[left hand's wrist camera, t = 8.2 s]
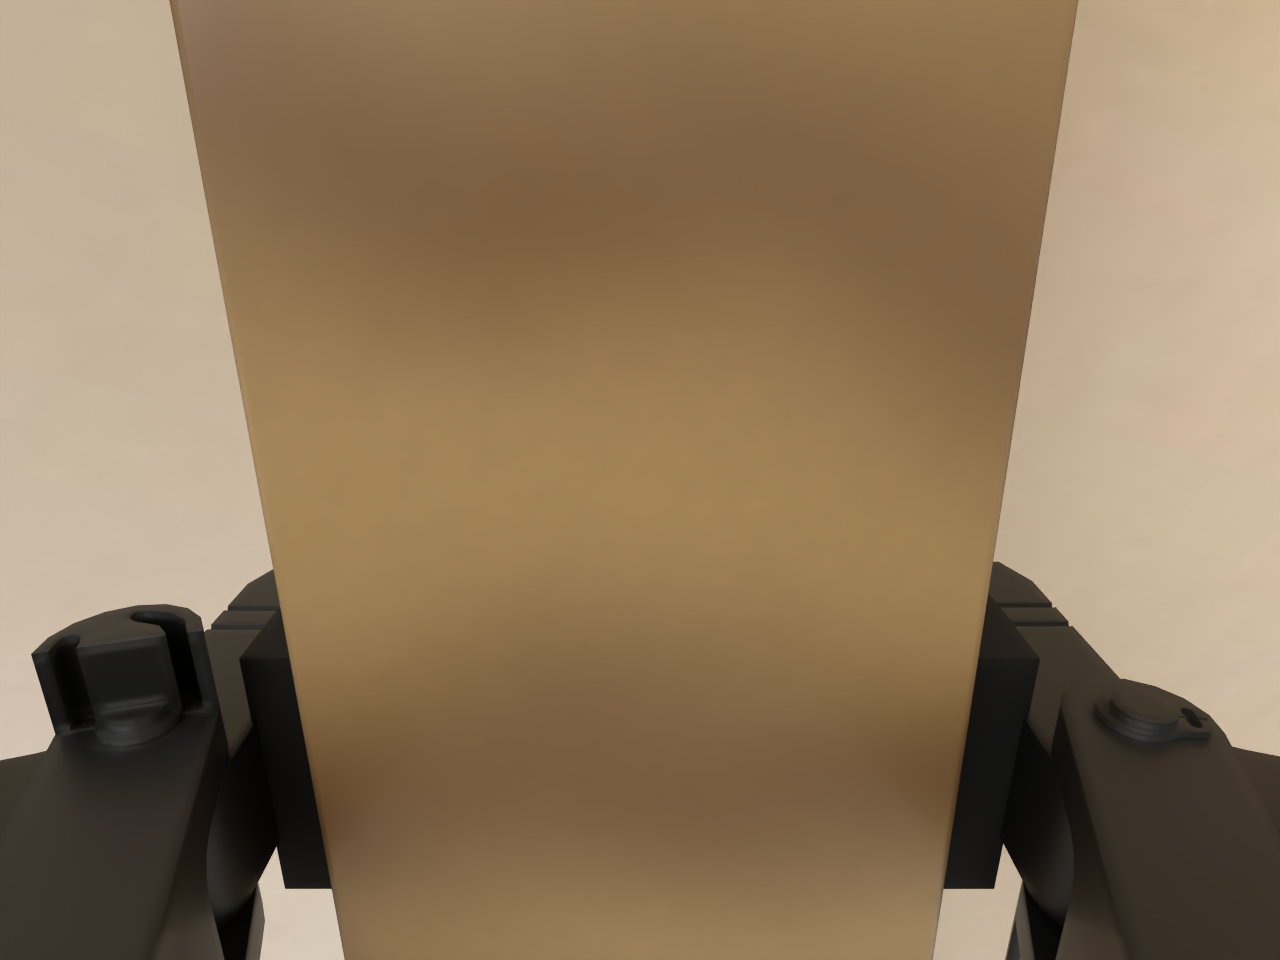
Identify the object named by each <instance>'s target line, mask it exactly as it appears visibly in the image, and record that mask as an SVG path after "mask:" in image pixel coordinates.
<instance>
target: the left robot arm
mask: <svg viewBox="0 0 1280 960" xmlns="http://www.w3.org/2000/svg"><path fill="white" fill-rule="evenodd" d="M31 655H32V659H33V662H34V665H35V668H36V672H37V675H38V678H39V682H40V685H41V688H42V691H43V695H44V698H45V701H46V705H47V708H48V711H49V714H50V718H51V721H52V724H53V727H54V731H55V734H56V735H55V736H54V738H53V740H52V742H51V744H50V746H49V748H48V749H47V751H44V752H40V753H36V754H31V755H26V756H21V757H16V758H11V759H5V760H0V960H260V953H261V946H262V938H263V931H264V923H265V918H264V910H263V903H262V898H261V894H260V889H259V884H258V881H259V879H260V877H261V875H262V873H263V871H264V870H265V868H266V866H267V864H268V862H269V860H270V858H271V856H272V854H273V852H274V850H275V848H276V846H277V850H278V855H279V860H280V865H281V870H282V875H283V880H284V885H285V889H332V887H331V881H330V876H329V870H328V865H327V859H326V854H325V848H324V843H323V837H322V832H321V826H320V821H319V815H318V810H317V805H316V799H315V794H314V788H313V783H312V777H311V772H310V766H309V761H308V755H307V750H306V744H305V739H304V733H303V728H302V722H301V717H300V711H299V706H298V701H297V695H296V690H295V684H294V679H293V673H292V668H291V662H290V657H289V651H288V646H287V640H286V635H285V629H284V624H283V618H282V613H281V607H280V602H279V597H278V591H277V586H276V580H275V575H274V569H273V570H271V571H269V572H268V573H266V574H264V575H262V576H261V577H259V578H257V579H256V580H254V581H252V582H250V583H249V584H247V585H246V587H245V588H244V589H243V590H242V591H241V592H240V593H239V594H238V596H237V597H236V598H235V599H234V600H233V601H232V602H231V603H230V604H229V606H228V611H223V612H222V613H221V615H220V616H219V617H218V618H217V619H216V620H215V621H214V622H213V623H212V625H211V630H206V631H205V632H204V630H203V625H202V621H201V617H199V616H198V615H197V614H195V613H194V612H192V611H191V610H190V609H188V608H184V607H178V606H173V605H167V604H159V605H137V606H132V607H127V608H122V609H118V610H113V611H108V612H104V613H101V614H98V615H96V616H93V617H90V618H87V619H84V620H82V621H79V622H76V623H74V624H72V625H70V626H68V627H66V628H65V629H63V630H61V631H59V632H58V633H56V634H54V635H52V636H50V637H49V638H47V639H46V640H45V641H44V642H43V643H42V644H41V645H40V646H39V647H38V648H37V649H36V650H35V651H34V652H33V653H32V654H31ZM1003 843H1004V845H1005V847H1006V849H1007V851H1008V853H1009V855H1010V857H1011V859H1012V861H1013V863H1014V865H1015V866H1016V868H1017V870H1018V872H1019V874H1020V876H1021V878H1022V884H1021V889H1020V894H1019V898H1018V903H1017V907H1016V912H1015V917H1014V921H1013V926H1012V931H1011V935H1010V940H1009V944H1008V949H1007V954H1006V958H1005V960H1280V757H1279V756H1274V755H1269V754H1264V753H1259V752H1254V751H1248V750H1244V749H1240V748H1236V747H1232V746H1231V744H1230V742H1229V740H1228V739H1227V737H1226V735H1225V733H1224V732H1223V731H1222V730H1221V728H1220V727H1219V726H1218V725H1217V724H1216V723H1215V721H1214V720H1213V719H1212V718H1211V717H1210V715H1208V714H1207V713H1205V712H1204V711H1202V710H1201V709H1199V708H1198V707H1196V706H1195V705H1193V704H1192V703H1190V702H1189V701H1187V700H1186V699H1184V698H1182V697H1179V696H1177V695H1174V694H1172V693H1170V692H1167V691H1165V690H1163V689H1160V688H1158V687H1156V686H1152V685H1148V684H1143V683H1139V682H1135V681H1131V680H1127V679H1120V678H1119V677H1118V676H1117V675H1116V674H1115V673H1114V672H1113V670H1112V669H1111V668H1110V667H1109V666H1108V665H1107V664H1106V663H1105V662H1104V660H1103V659H1102V658H1101V657H1100V656H1099V655H1098V654H1097V653H1096V652H1095V651H1094V649H1093V648H1092V647H1091V646H1090V645H1089V644H1088V643H1087V642H1086V641H1085V639H1084V638H1083V637H1082V636H1081V635H1080V634H1079V633H1078V632H1077V631H1076V629H1075V628H1074V627H1073V626H1069V625H1068V621H1067V619H1066V618H1065V617H1064V616H1063V615H1062V614H1061V613H1060V612H1059V611H1058V609H1057V608H1052V603H1051V602H1050V601H1049V599H1048V598H1047V597H1046V596H1045V595H1044V594H1043V593H1042V592H1041V591H1040V589H1039V588H1038V587H1037V586H1036V585H1035V584H1034V583H1033V582H1032V581H1031V580H1029V579H1028V578H1026V577H1024V576H1022V575H1021V574H1019V573H1017V572H1015V571H1014V570H1012V569H1010V568H1008V567H1007V566H1005V565H1003V564H1001V563H1000V562H993V564H992V571H991V578H990V584H989V591H988V597H987V604H986V611H985V617H984V624H983V630H982V637H981V644H980V650H979V657H978V663H977V670H976V676H975V683H974V690H973V696H972V703H971V709H970V716H969V723H968V729H967V736H966V742H965V749H964V756H963V762H962V769H961V775H960V782H959V789H958V795H957V802H956V808H955V815H954V821H953V828H952V835H951V841H950V848H949V854H948V861H947V868H946V874H945V881H944V887H943V889H994V886H995V881H996V876H997V871H998V866H999V861H1000V856H1001V851H1002V846H1003Z"/></svg>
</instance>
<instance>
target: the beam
mask: <svg viewBox="0 0 1280 960" xmlns="http://www.w3.org/2000/svg"><path fill="white" fill-rule="evenodd" d="M1077 4H1078V0H170V5H171V11H172V16H173V22H174V27H175V33H176V38H177V44H178V49H179V55H180V60H181V66H182V71H183V77H184V82H185V88H186V93H187V98H188V104H189V109H190V115H191V120H192V126H193V131H194V137H195V142H196V148H197V153H198V159H199V164H200V170H201V175H202V181H203V186H204V192H205V197H206V202H207V208H208V213H209V219H210V224H211V230H212V235H213V241H214V246H215V252H216V257H217V263H218V268H219V274H220V279H221V285H222V290H223V296H224V301H225V306H226V312H227V317H228V323H229V328H230V334H231V339H232V345H233V350H234V356H235V361H236V367H237V372H238V378H239V383H240V389H241V394H242V400H243V405H244V410H245V416H246V421H247V427H248V432H249V438H250V443H251V449H252V454H253V460H254V465H255V471H256V476H257V482H258V487H259V493H260V498H261V504H262V509H263V514H264V520H265V525H266V531H267V536H268V542H269V547H270V553H271V558H272V564H273V569H274V575H275V580H276V586H277V591H278V597H279V602H280V607H281V613H282V618H283V624H284V629H285V635H286V640H287V646H288V651H289V657H290V662H291V668H292V673H293V679H294V684H295V690H296V695H297V701H298V706H299V711H300V717H301V722H302V728H303V733H304V739H305V744H306V750H307V755H308V761H309V766H310V772H311V777H312V783H313V788H314V794H315V799H316V805H317V810H318V815H319V821H320V826H321V832H322V837H323V843H324V848H325V854H326V859H327V865H328V870H329V876H330V881H331V887H332V892H333V898H334V903H335V909H336V914H337V919H338V925H339V930H340V936H341V941H342V947H343V952H344V958H345V960H933V953H934V947H935V940H936V934H937V927H938V920H939V914H940V907H941V901H942V894H943V887H944V881H945V874H946V868H947V861H948V854H949V848H950V841H951V835H952V828H953V821H954V815H955V808H956V802H957V795H958V789H959V782H960V775H961V769H962V762H963V756H964V749H965V742H966V736H967V729H968V723H969V716H970V709H971V703H972V696H973V690H974V683H975V676H976V670H977V663H978V657H979V650H980V644H981V637H982V630H983V624H984V617H985V611H986V604H987V597H988V591H989V584H990V578H991V571H992V564H993V558H994V551H995V545H996V538H997V531H998V525H999V518H1000V512H1001V505H1002V499H1003V492H1004V485H1005V479H1006V472H1007V466H1008V459H1009V452H1010V446H1011V439H1012V433H1013V426H1014V419H1015V413H1016V406H1017V400H1018V393H1019V386H1020V380H1021V373H1022V367H1023V360H1024V353H1025V347H1026V340H1027V334H1028V327H1029V321H1030V314H1031V307H1032V301H1033V294H1034V288H1035V281H1036V274H1037V268H1038V261H1039V255H1040V248H1041V241H1042V235H1043V228H1044V222H1045V215H1046V208H1047V202H1048V195H1049V189H1050V182H1051V176H1052V169H1053V162H1054V156H1055V149H1056V143H1057V136H1058V129H1059V123H1060V116H1061V110H1062V103H1063V96H1064V90H1065V83H1066V77H1067V70H1068V63H1069V57H1070V50H1071V44H1072V37H1073V30H1074V24H1075V17H1076V11H1077Z"/></svg>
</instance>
